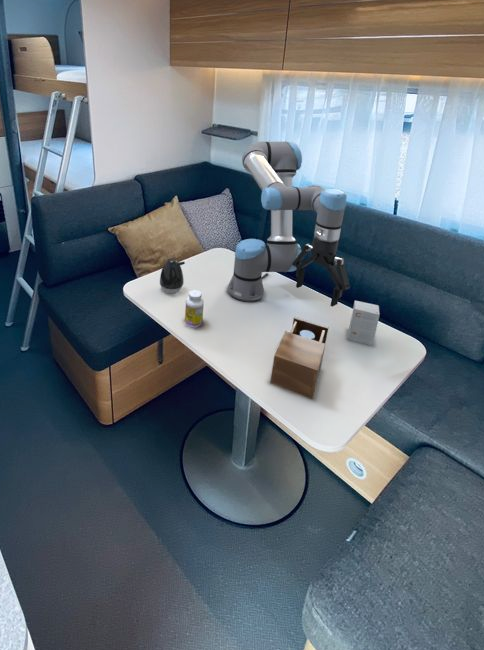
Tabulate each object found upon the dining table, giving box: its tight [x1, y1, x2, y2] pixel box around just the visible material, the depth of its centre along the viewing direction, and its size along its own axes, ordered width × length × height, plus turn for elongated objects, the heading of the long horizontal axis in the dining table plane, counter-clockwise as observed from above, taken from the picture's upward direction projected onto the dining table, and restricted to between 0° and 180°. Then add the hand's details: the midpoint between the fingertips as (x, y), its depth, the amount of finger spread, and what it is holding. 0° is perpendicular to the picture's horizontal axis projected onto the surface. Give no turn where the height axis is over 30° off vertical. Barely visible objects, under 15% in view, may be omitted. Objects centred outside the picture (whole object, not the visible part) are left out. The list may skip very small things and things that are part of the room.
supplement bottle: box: [184, 289, 205, 328], centre depth 152 cm, size 7×7×13 cm
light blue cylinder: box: [299, 330, 315, 340], centre depth 137 cm, size 5×5×6 cm
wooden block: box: [269, 330, 326, 400], centre depth 127 cm, size 14×13×11 cm
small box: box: [348, 300, 380, 346], centre depth 146 cm, size 8×6×13 cm
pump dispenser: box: [159, 257, 186, 294], centre depth 173 cm, size 10×10×15 cm
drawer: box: [289, 316, 329, 345], centre depth 138 cm, size 17×11×9 cm
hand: (315, 295), depth 137 cm, fingers open, 13 cm apart
